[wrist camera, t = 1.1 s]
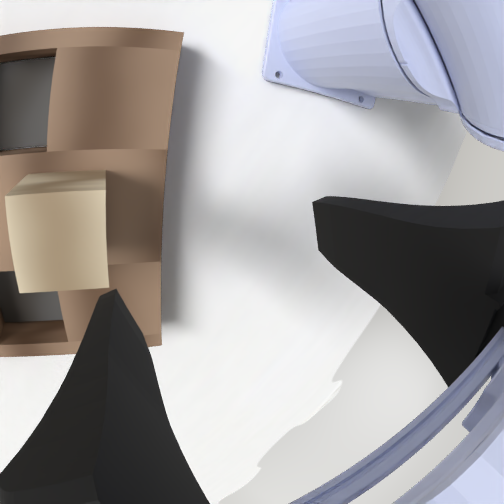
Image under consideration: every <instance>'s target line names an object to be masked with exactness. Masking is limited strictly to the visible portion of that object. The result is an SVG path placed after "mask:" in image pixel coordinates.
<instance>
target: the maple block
mask: <svg viewBox="0 0 504 504" xmlns="http://www.w3.org/2000/svg"><path fill="white" fill-rule="evenodd" d="M5 205H6V215H7V224H8V232H9V240H10V246H11V252H12V258H13V264H14V269H15V274H16V279H17V284H18V288H19V293H33V292H51V291H67V290H82V289H97V288H109V278H108V264H107V245H106V170H89V171H67V172H50V173H36V174H28V175H27V176H25V177H24V178H23V179H22V180H21V181H20V182H19V183H18V184H17V185H16V186H15V187H14V188H13V189H12V190H11V191H10V192H9V193H7V194H6V195H5Z"/></svg>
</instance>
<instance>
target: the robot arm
mask: <svg viewBox="0 0 504 504" xmlns="http://www.w3.org/2000/svg"><path fill="white" fill-rule="evenodd" d="M276 72H278V73H279V74H280V77H279V78H276V76H275V74H276ZM262 76H263V78H264V79H265V80H267V81H270V82H274V83H279V84H283V85H287V86H292V87H296V88H300V89H303V90H307V91H311V92H315V93H318V94H322V95H325V96H329V97H332V98H336V99H339V100H342V101H345V102H348V103H351V104H355V105H358V106H361V107H363V108H367V109H371V108H373V107H374V103H375V97H378V98H387V99H396V100H404V101H411V102H418V103H424V104H430V105H438V107H439V109H440V110H443V111H448V112H453V113H458V114H460V117H461V121H462V123H463V125H464V126H465V128H466V129H467V131H468V132H469V133H470V134H471V135H472V136H473V137H475V138H476V139H477V140H478V141H480V142H482V143H483V144H485V145H487V146H490V147H492V148H494V149H498V150H501V151H504V0H273V6H272V12H271V18H270V24H269V30H268V37H267V43H266V49H265V55H264V62H263V68H262ZM359 97H360V101H359ZM312 203H313V211H314V218H315V226H316V233H317V241H318V250H319V251H320V252H321V253H322V254H323V255H324V256H325V258H326V259H327V260H328V261H329V262H330V263H331V264H332V265H333V266H334V267H335V268H336V269H337V270H339V271H340V272H341V273H342V274H344V275H345V276H346V277H347V278H349V279H350V280H351V281H353V282H354V283H355V284H356V285H358V286H359V287H360V288H361V289H363V290H364V291H365V292H367V293H368V294H369V295H370V296H372V297H373V298H374V299H375V300H377V301H378V302H379V303H380V304H381V305H382V306H383V307H385V308H386V309H387V310H388V311H389V312H390V313H391V314H392V315H393V317H395V319H396V320H397V321H398V322H399V323H400V324H401V325H402V326H403V327H404V328H405V329H406V331H407V332H408V333H409V334H410V335H411V336H412V337H413V339H414V340H415V341H416V342H417V343H418V345H419V346H420V347H421V348H422V350H423V351H424V352H425V353H426V355H427V356H428V358H429V359H430V360H431V361H432V363H433V364H434V366H435V367H436V369H437V370H438V372H439V373H440V375H441V376H442V378H443V379H444V381H445V383H446V384H447V386H448V388H447V389H446V390H445V391H444V392H443V393H442V394H441V395H440V396H439V397H438V398H437V399H436V400H435V401H434V402H433V403H432V404H431V405H430V406H429V407H428V408H426V409H425V410H424V411H423V412H422V413H421V414H420V415H418V416H417V417H416V418H415V419H414V420H413V421H412V422H410V423H409V424H408V425H407V426H406V427H405V428H403V429H402V430H401V431H400V432H398V433H397V434H396V435H395V436H393V437H392V438H391V439H389V440H388V441H387V442H386V443H384V444H383V445H382V446H380V447H379V448H378V449H376V450H375V451H374V452H372V453H371V454H370V455H368V456H367V457H365V458H364V459H362V460H361V461H359V462H358V463H356V464H355V465H353V466H352V467H351V468H349V469H348V470H346V471H345V472H343V473H341V474H340V475H338V476H337V477H335V478H333V479H332V480H330V481H328V482H327V483H325V484H324V485H322V486H320V487H319V488H317V489H315V490H313V491H311V492H310V493H308V494H306V495H304V496H302V497H300V498H299V499H297V500H295V501H293V502H291V503H289V504H348V503H349V502H351V501H352V500H354V499H355V498H357V497H358V496H360V495H361V494H363V493H364V492H366V491H367V490H369V489H370V488H372V487H373V486H374V485H376V484H377V483H379V482H380V481H381V480H383V479H384V478H385V477H387V476H388V475H389V474H391V473H392V472H393V471H395V470H396V469H397V468H398V467H400V466H401V465H402V464H403V463H405V462H406V461H407V460H408V459H409V458H411V457H412V456H413V455H414V454H415V453H417V452H418V451H419V450H420V449H421V448H422V447H423V446H425V444H427V443H428V442H429V441H430V440H431V439H432V438H433V437H434V436H435V435H436V434H438V433H439V432H440V431H441V430H442V429H443V428H444V427H445V426H446V425H447V424H448V423H449V422H450V421H451V420H452V419H453V418H454V417H455V416H456V415H457V414H458V413H459V412H460V410H461V409H462V408H463V407H464V406H465V405H466V404H467V403H468V402H469V401H470V400H471V399H472V397H473V396H474V395H475V394H476V393H477V392H478V391H479V389H480V388H481V387H482V386H483V385H484V384H485V382H486V381H487V380H488V379H489V377H490V376H491V379H492V380H491V381H490V383H489V384H488V386H487V387H486V388H485V389H484V391H483V393H482V395H481V397H480V398H479V400H478V401H477V403H476V404H475V406H474V407H473V409H472V410H471V412H470V413H469V414H468V415H467V417H466V418H465V419H464V420H463V422H462V425H463V426H464V427H465V428H466V429H467V430H468V431H469V432H470V433H469V434H468V435H467V436H466V437H465V438H464V439H463V440H462V441H461V442H460V444H459V445H458V446H457V447H456V448H455V449H454V450H453V451H452V452H451V453H450V454H449V455H448V456H447V457H446V458H445V459H444V460H443V461H442V462H440V463H439V464H438V465H437V466H436V467H435V468H434V469H433V470H432V471H431V472H430V473H428V474H427V475H426V476H425V477H424V478H423V479H422V480H421V481H420V482H418V483H417V484H416V485H415V486H413V487H412V488H411V489H410V490H409V491H407V492H406V493H405V494H404V495H402V496H401V497H400V498H399V499H397V500H396V501H395V502H393V503H392V504H504V201H499V202H493V203H486V204H477V205H464V206H423V205H408V204H398V203H389V202H381V201H373V200H365V199H357V198H348V197H336V196H327V197H324V198H321V199H319V200H316V201H314V202H312ZM0 504H210V503H209V501H208V500H207V498H206V496H205V495H204V493H203V491H202V489H201V488H200V486H199V484H198V482H197V480H196V479H195V477H194V475H193V473H192V471H191V469H190V467H189V465H188V463H187V461H186V459H185V457H184V455H183V453H182V451H181V449H180V447H179V444H178V442H177V440H176V438H175V435H174V433H173V431H172V428H171V426H170V423H169V420H168V417H167V414H166V411H165V407H164V404H163V400H162V396H161V393H160V389H159V385H158V381H157V377H156V373H155V369H154V365H153V361H152V357H151V354H150V352H149V349H148V346H147V343H146V341H145V338H144V335H143V333H142V331H141V329H140V328H139V326H138V325H137V323H136V321H135V320H134V318H133V316H132V315H131V313H130V311H129V310H128V308H127V306H126V305H125V303H124V301H123V299H122V298H121V296H120V294H119V292H118V291H117V289H114V290H111V291H109V292H107V293H105V294H103V295H101V296H99V299H98V301H97V303H96V306H95V308H94V311H93V313H92V316H91V319H90V321H89V324H88V326H87V329H86V331H85V334H84V337H83V339H82V342H81V344H80V346H79V348H78V351H77V353H76V355H75V358H74V360H73V363H72V365H71V367H70V369H69V371H68V373H67V375H66V377H65V379H64V381H63V383H62V385H61V387H60V389H59V391H58V393H57V394H56V396H55V398H54V399H53V401H52V403H51V404H50V406H49V408H48V409H47V411H46V413H45V415H44V416H43V418H42V419H41V421H40V423H39V424H38V426H37V427H36V428H35V430H34V431H33V433H32V434H31V436H30V437H29V438H28V440H27V441H26V443H25V444H24V445H23V447H22V448H21V449H20V451H19V452H18V453H17V454H16V455H15V457H14V458H13V459H12V460H11V461H10V463H9V464H8V465H7V466H6V468H5V469H4V470H3V471H2V472H1V473H0Z"/></svg>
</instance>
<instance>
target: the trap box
mask: <svg viewBox="0 0 504 504" xmlns="http://www.w3.org/2000/svg"><path fill="white" fill-rule="evenodd" d="M183 35H184V33H183V32H175V31H166V30H155V29H142V28H121V27H80V28H60V29H48V30H38V31H29V32H22V33H15V34H8V35H3V36H0V63H3V64H0V150H1V149H10V148H20V147H31V146H44V145H47V147H34V148H23V149H13V150H4V151H0V357H20V356H46V355H65V354H76V353H77V351H78V348H79V346H80V344H81V342H82V339H83V337H84V334H85V331H86V329H87V326H88V324H89V321H90V319H91V316H92V313H93V311H94V308H95V306H96V303H97V301H98V299H99V296H101V295H103V294H105V293H107V292H109V291H111V290H114V289H117V291H118V292H119V294H120V296H121V298H122V299H123V301H124V303H125V305H126V306H127V308H128V310H129V311H130V313H131V315H132V316H133V318H134V320H135V321H136V323H137V325H138V326H139V328H140V329H141V331H142V333H143V335H144V338H145V341H146V343H147V346H148V347H152V346H160V345H162V338H161V247H162V221H163V202H164V187H165V174H166V161H167V150H168V140H169V131H170V122H171V113H172V105H173V98H174V90H175V83H176V77H177V70H178V64H179V58H180V52H181V46H182V40H183ZM46 57H56V58H46ZM36 58H44V59H36ZM27 59H34V60H27ZM19 60H25V61H19ZM11 61H17V62H11ZM5 62H10V63H5ZM89 170H106V245H107V264H108V278H109V288H97V289H82V290H67V291H51V292H33V293H19V288H18V284H17V279H16V274H15V269H14V264H13V258H12V252H11V246H10V240H9V232H8V224H7V215H6V205H5V195H6V194H7V193H9V192H10V191H11V190H12V189H13V188H14V187H15V186H16V185H17V184H18V183H19V182H20V181H21V180H22V179H23V178H24V177H25V176H27V175H28V174H36V173H50V172H67V171H89Z"/></svg>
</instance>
